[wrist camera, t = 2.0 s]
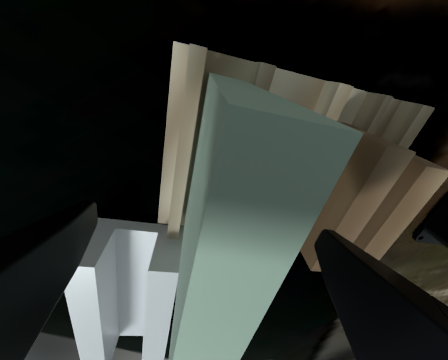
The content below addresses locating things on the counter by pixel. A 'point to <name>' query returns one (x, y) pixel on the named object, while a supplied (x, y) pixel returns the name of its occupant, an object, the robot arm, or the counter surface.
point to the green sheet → (249, 211)
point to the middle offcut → (358, 190)
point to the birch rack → (277, 84)
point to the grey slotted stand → (124, 288)
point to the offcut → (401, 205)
